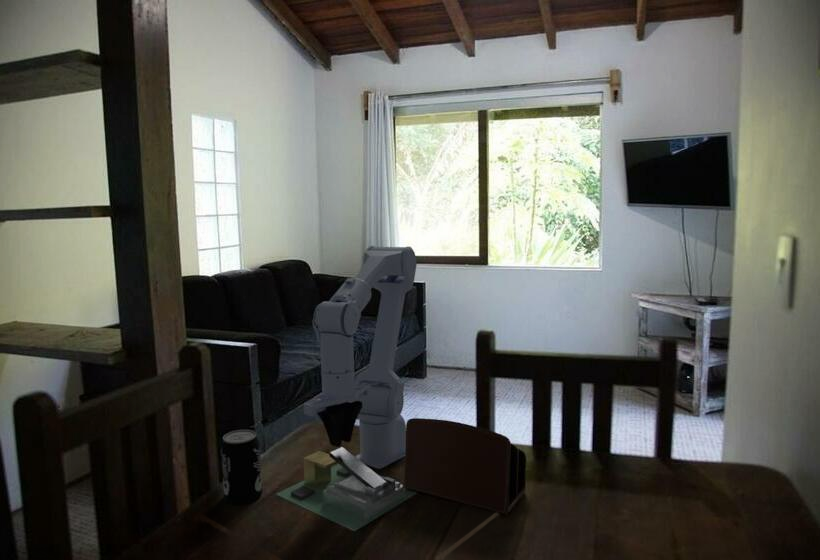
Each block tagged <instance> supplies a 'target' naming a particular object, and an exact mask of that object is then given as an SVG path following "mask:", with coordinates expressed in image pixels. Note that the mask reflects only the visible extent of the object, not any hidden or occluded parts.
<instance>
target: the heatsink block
mask: <svg viewBox="0 0 820 560" xmlns="http://www.w3.org/2000/svg"><path fill="white" fill-rule="evenodd" d="M376 474H377V475H379V476H380V477H381V478H382V479H384V480H385V481H386V482H388V484H389V487H388V488H386V489H384V490H382V491H381V492H379V493H377V490H376V489H374V488H371V487H367V486H365V485H364V484H363V483H362V482H361V481H359V480H358V479H357V478H356V477H354V476H351V477H349V478H347V479H345V480H343V481H341V482H339V483H334V485H333V486H329V487H327V489H326V490H324V491H323V501H324V504H325V505H328V506H330V507H332V508H334V509H337V510H339V511H341V512H343V513H345V514H348V515H350V516H352V517H354V518H357V519H359V520H361V521H363V522H367V521H368V520H370V519H372V518H373V517H375V516H377V515H378V514H380V513H381V512H383V511H385V510H386V509H388V508H390V507H391V506H393V505H395V504H396V503H398V502H400V501H401V500H403V499H405V498H404V484H401V482H399V481H397V480H396V479H394V478H391V477H389V476H384V475H380V474H378V473H376Z"/></svg>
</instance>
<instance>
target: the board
mask: <svg viewBox="0 0 820 560" xmlns="http://www.w3.org/2000/svg"><path fill="white" fill-rule="evenodd" d="M351 476H353V475H352V474H351V473H349V472H348V471H347V470H346V469H345V468H343V467H342V466H341V465H340V464H338V463H336V464H334V465H332V466H331V480H330V481H328V482H326V483H324V484H322V485H320V486H318V487H316V488H314V487H312V486H310V485H307V484H305V481H304V480H301V481H300V482H298V483H296V484H294V485H292V486H289V487H288V488H285V489H284V490H281V491H279V492H277V493H275V496H278V497H280V498H282V499H285V500H286V501H288V502H291V503H292V504H295V505H297V506H299V507H302V508H304V509H305V510H308V511H309V512H312V513H314V514H317V515H318V516H320V517H322V518H324V519H327V520H328V521H331V522H333V523H335V524H337V525H340V526H342V527H344V528H346V529H348V530H350V531H353V532H356V531H358V530H359V529H361V528H363V527H364V526H366V525H367V524H370V522H372V521H374V520H376V519H378V518H379V517H380V516H383V515H384V514H385V513H387V512H389V511H390V510H392V509H394V508H396V507H398V506H399V505H401V504H402V503H404V502H406V501H407V500H408V499H411V498H412V497H414V496H415V495H417V494H418V492H416V491H412V490H408V489H405V488H404V498H405V499H403V500H401V501H400V502H398V503H396V504H395V505H393V506H391V507H390V508H388V509H386V510H385V511H383V512H381V513H380V514H378V515H377V516H375V517H373V518H372V519H370V520H368V521H367V522H363V521H361V520H359V519H357V518H354V517H352V516H350V515H348V514H345V513H343V512H341V511H339V510H337V509H334V508H332V507H330V506H328V505H325V504H324V501H323V491H324V490H326V489H327V487H329V486H333V485H334V483H339V482H341V481H343V480H345V479H347V478H349V477H351Z"/></svg>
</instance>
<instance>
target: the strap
mask: <svg viewBox="0 0 820 560" xmlns="http://www.w3.org/2000/svg"><path fill="white" fill-rule="evenodd" d="M329 454H330V455H329V456H330V457H331V458H332V459H333V460H335V461H336V462H337V463H336V464H340V465H341V466H342V467H343V468H345V469H346V470H347V471H348V472H349V473H351V474H352V475H353V476H354V477H356V478H357V479H358V480H359V481H361V482H362V483H363V484H364V485H365V486H367V487H371V488H374V489H376V490H377V493H379V492H381V491H382V490H384V489H386V488H388V487H389V484H388V482H386V481H385V480H384V479H382V478H381V477H380V476H379V475H380V474H378V473H376V472H375V471H373V470H372V469H371V468H370V467H369V466H368V465H367V464H364V463H362V462H361V461H359V460H358V459H357V457H354V456H355V455H353V454H352V453H351V452H350V451H348V450H347V449H346V448H345V447H343V446H340V447H338V448H337V449H335V450H332V451H330V452H329ZM377 474H378V475H377Z"/></svg>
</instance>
